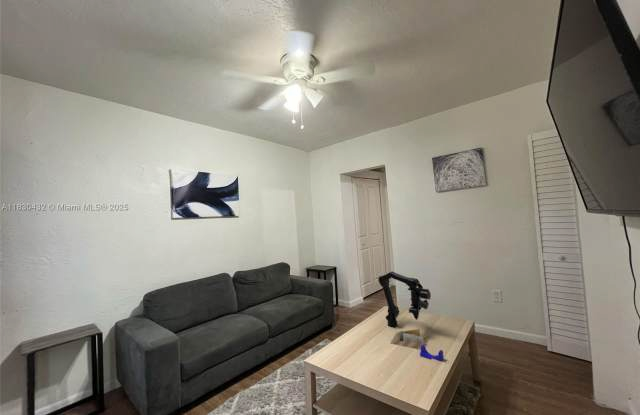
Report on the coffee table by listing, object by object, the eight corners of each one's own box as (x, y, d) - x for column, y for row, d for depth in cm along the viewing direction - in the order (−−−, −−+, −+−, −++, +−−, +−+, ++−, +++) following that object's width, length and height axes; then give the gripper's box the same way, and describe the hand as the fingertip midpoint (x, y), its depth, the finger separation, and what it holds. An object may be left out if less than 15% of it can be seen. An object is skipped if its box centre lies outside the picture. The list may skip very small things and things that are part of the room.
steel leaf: (399, 340, 173) (399, 331, 174) (400, 339, 175) (399, 330, 175) (423, 345, 165) (422, 336, 166) (423, 344, 167) (423, 334, 167)
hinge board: (390, 344, 171) (389, 343, 171) (397, 333, 186) (397, 332, 186) (424, 351, 159) (424, 350, 159) (429, 338, 175) (429, 337, 175)
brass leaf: (402, 339, 175) (402, 331, 175) (402, 338, 176) (401, 331, 176) (420, 336, 177) (419, 329, 177) (419, 335, 178) (418, 328, 178)
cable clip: (420, 357, 154) (419, 347, 154) (423, 354, 157) (422, 344, 157) (441, 364, 145) (440, 354, 146) (443, 361, 149) (442, 350, 149)
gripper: (424, 302, 171) (426, 325, 170) (429, 294, 187) (431, 315, 186) (407, 300, 177) (409, 323, 176) (413, 292, 193) (415, 313, 192)
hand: (417, 318), depth 183 cm, fingers open, 3 cm apart
